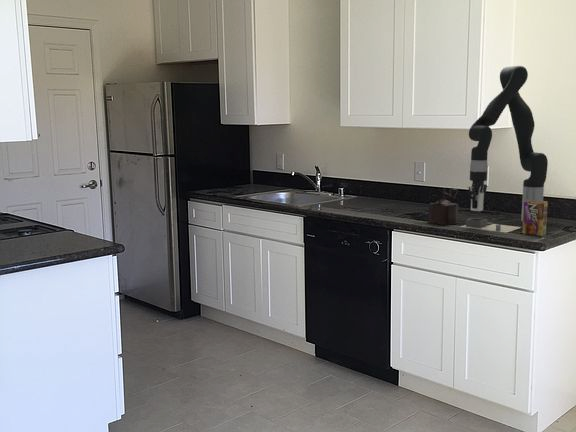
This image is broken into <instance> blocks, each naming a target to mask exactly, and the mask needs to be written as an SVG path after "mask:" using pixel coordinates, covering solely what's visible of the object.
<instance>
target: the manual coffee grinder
mask: <svg viewBox="0 0 576 432" xmlns="http://www.w3.org/2000/svg"><path fill="white" fill-rule="evenodd" d="M446 190H447V189H446V188H443V189H442V199H439V200H437V201H436V202H430V203H428V219H427V223H428V224H433V225H440V226H449V225H456V224H458V223H459V206H460V205H459V203H454V202H453V203H452V202H451V201H450V200H448V199H446V196H448V197H449V198H451V199H456V195H457V194H458V193H459V189H457V188H456V187H451V188H450V189H449V193H447V191H446Z"/></svg>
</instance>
